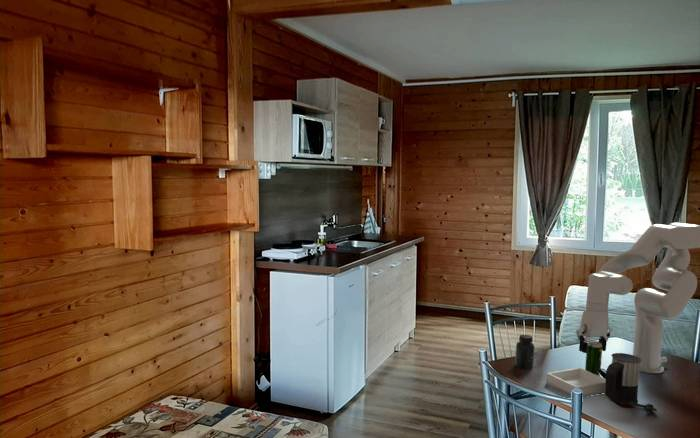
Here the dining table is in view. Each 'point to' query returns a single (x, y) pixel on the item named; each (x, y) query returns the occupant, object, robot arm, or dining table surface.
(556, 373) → the tray
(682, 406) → the dining table surface
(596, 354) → the beer can
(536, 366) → the dining table surface
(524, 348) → the supplement bottle
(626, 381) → the milk frother
